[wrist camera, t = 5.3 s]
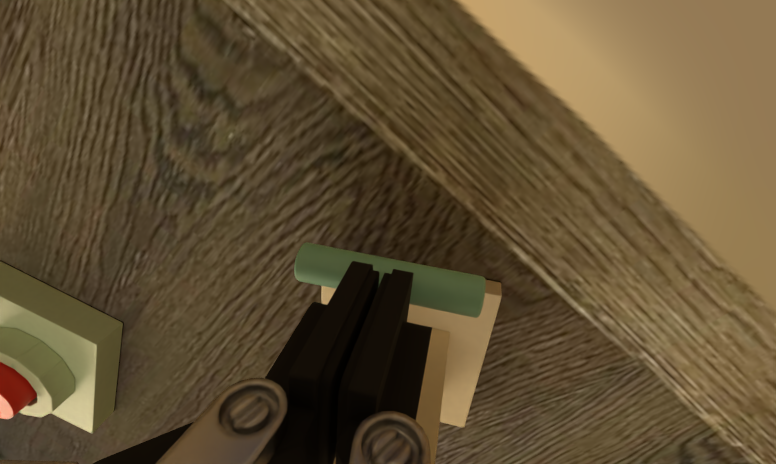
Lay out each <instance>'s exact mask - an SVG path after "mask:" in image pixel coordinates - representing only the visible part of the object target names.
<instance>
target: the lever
mask: <svg viewBox="0 0 776 464" xmlns="http://www.w3.org/2000/svg"><path fill="white" fill-rule="evenodd" d="M352 261H357V262H362V263H367V264H372V265H373V270H375V271H379V285H380V282H381V280H382V278H383V275H384V273H390V274H391V273H392V271H393V269H397V270H402V271H408V272H413V273H414V274H413V282H412V289H411V296H410V303H409V304H411V305H416V306H421V307H426V308H431V309H435V310H440V311H445V312H450V313H455V314H459V315H464V316H469V317H474V318H477V317H479V315H480V313H481V310H482V306H483V302H484V296H485V288H486V281H485V278H484V277H483V276H478V275H473V274H468V273H463V272H458V271H453V270H447V269H442V268H437V267H432V266H427V265H421V264H416V263H411V262H406V261H401V260H395V259H390V258H385V257H380V256H375V255H370V254H364V253H359V252H354V251H349V250H344V249H338V248H333V247H328V246H323V245H318V244H312V243H304V244H303V245H302V246H301V248H300V249H299V251H298V254H297V257H296V261H295V268H294V273H295V277H296V279H297V280H298V281H301V282H306V283H311V284H316V285H320V286H325V287H330V288H335V289H337V287H338V285H339V283H340V281H341V280H342V278H343V276H344V274H345V273H346V271H347V269H348V267H349V266H350V264H351V262H352ZM379 285H378V287H379Z"/></svg>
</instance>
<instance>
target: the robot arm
mask: <svg viewBox="0 0 776 464" xmlns="http://www.w3.org/2000/svg"><path fill="white" fill-rule="evenodd" d="M413 274H414V273H413V272H408V271H402V270H397V269H393V271H392V273H391V274H390V273H384V275H383V278H382V280H381V282H380V285H379V271H375V270H373V265H372V264H367V263H362V262H357V261H352V262H351V264H350V266H349V267H348V269H347V271H346V273H345V274H344V276H343V278H342V280H341V281H340V283H339V285H338V287H337V289H336V290H335V292H334V294H333V296H332V297H331V299H330V301H329V303H328V304H327V305H326V304H322V303H317V302H314V303H312V304H311V306H310V307H309V308H308V310H307V312H306V313H305V315H304V316H303V318H302V320H301V321H300V323H299V325H298V326H297V328H296V329H295V331H294V333H293V334H292V336H291V337H290V339H289V341H288V342H287V344H286V345H285V347H284V349H283V350H282V352H281V353H280V355H279V357H278V358H277V360H276V361H275V363H274V365H273V366H272V368H271V369H270V371H269V373H268V374H267V376H266V377H265V379H264V378H250V379H246V380H242V381H239V382H237V383H235V384H233V385H231V386H229V387H228V388H227V389H225V390H224V391H223V392H222V393H221V394H220V395H219V396H218V397H217V398H216V399H215V400H214V401H213V402H212V403H211V404H210V405H209V406H208V407H207V409H206V410H205V411H204V412H203V413H202V414H201V415H200V416H199V417H198V418H197V419H196V420H195V422H192V423H190V424H188V425H185V426H183V427H180V428H178V429H175V430H173V431H170V432H168V433H165V434H163V435H160V436H158V437H156V438H153V439H151V440H148V441H146V442H143V443H141V444H138V445H136V446H133V447H131V448H128V449H126V450H124V451H121V452H119V453H116V454H114V455H111V456H109V457H106V458H104V459H101V460H99V461H97V462H95V463H93V464H333V463H334V460H335V457H336V460H335V464H431V450H430V445H429V439H428V437H427V435H426V433H425V431H424V429H423V428H422V427H421V426H420V425H419V424H418V423H417V422H416V416H417V411H418V405H419V399H420V394H421V388H422V383H423V377H424V371H425V366H426V360H427V354H428V349H429V343H430V337H431V332H432V327H428V326H423V325H419V324H414V323H409V322H407V317H408V310H409V303H410V296H411V289H412V282H413ZM378 285H379V287H378ZM0 464H78V462H65V461H22V460H0Z"/></svg>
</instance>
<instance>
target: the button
mask: <svg viewBox="0 0 776 464" xmlns="http://www.w3.org/2000/svg"><path fill="white" fill-rule="evenodd" d="M36 397H37V393H36V391H35V390H34V388H33V387H32V386H31V384H30V383H29V381H28V380H27V379H26V378H24V377H23V376H22V375H21V374H19V373H18V372H17V371H16V370H15V369H13V368H11V367H9V366H7V365H5V364H3V363H1V362H0V418H2V419H10V418H12V417H13V416H14V415H16V414H17V413H18V412H19V411H20V410H22V409H23V408H24V407H25V406H26V405H27V404H29V403H30V402H31V401H32V400H33V399H35V398H36Z"/></svg>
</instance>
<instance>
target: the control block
mask: <svg viewBox="0 0 776 464" xmlns="http://www.w3.org/2000/svg"><path fill="white" fill-rule="evenodd" d="M122 328H123V323H122V322H120V321H118V320H116V319H114V318H112V317H110V316H108V315H106V314H104V313H102V312H100V311H98V310H96V309H94V308H92V307H90V306H88V305H86V304H84V303H82V302H80V301H78V300H76V299H74V298H72V297H70V296H68V295H66V294H64V293H62V292H61V291H59V290H57V289H55V288H53V287H51V286H49V285H47V284H45V283H43V282H41V281H39V280H37V279H35V278H33V277H31V276H29V275H27V274H25V273H23V272H21V271H19V270H17V269H15V268H13V267H11V266H9V265H7V264H5V263H3V262H1V261H0V362H1V363H3V364H5V365H7V366H9V367H11V368H13V369H15V370H16V371H17V372H18V373H19V374H21V375H22V376H23V377H24V378H26V379H27V380H28V381H29V383H30V384H31V386H32V387H33V388H34V390H35V391H36V393H37V397H36V398H35V399H33V400H32V401H31V402H30V403H29V404H27V405H26V406H25V407H24V408H23V409H22V410H20V411H19V413H21V414H24V415H30V416H36V417H43V416H45V415H47V414H49V413H52V414H54V415H56V416H58V417H60V418H62V419H64V420H66V421H68V422H70V423H72V424H74V425H76V426H78V427H80V428H82V429H84V430H86V431H88V432H90V433H94V432H95V430H96V429H97V428H98V427H99V426H100V425H101V424H102V423H103V422H104V421H105V420H106V419H107V418H108V417H109V416H110V415H111V414H112V413H113V412H114V407H115V397H116V387H117V377H118V367H119V358H120V348H121V338H122Z"/></svg>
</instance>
